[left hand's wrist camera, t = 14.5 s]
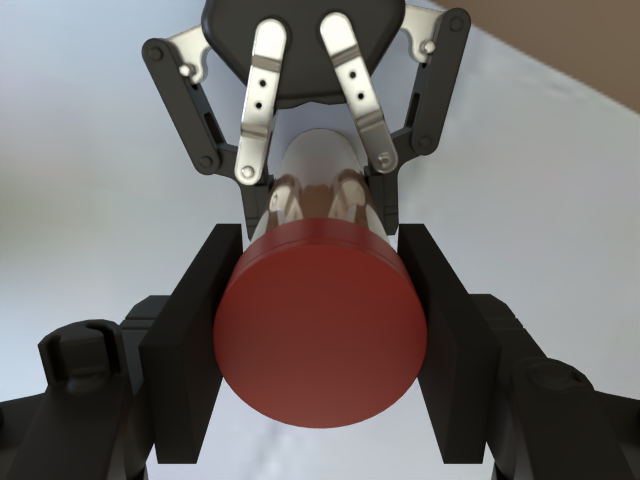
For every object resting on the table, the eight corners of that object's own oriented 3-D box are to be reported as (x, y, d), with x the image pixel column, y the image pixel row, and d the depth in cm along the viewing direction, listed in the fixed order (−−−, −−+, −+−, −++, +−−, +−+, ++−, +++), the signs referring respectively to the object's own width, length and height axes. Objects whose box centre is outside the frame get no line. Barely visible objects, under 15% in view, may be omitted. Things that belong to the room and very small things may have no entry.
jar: (346, 208, 29) (386, 425, 12) (276, 193, 29) (210, 393, 11) (365, 138, 28) (443, 267, 10) (291, 120, 27) (239, 223, 10)
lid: (383, 394, 13) (393, 444, 11) (214, 362, 13) (198, 409, 11) (437, 239, 11) (458, 271, 10) (244, 197, 11) (230, 222, 9)
